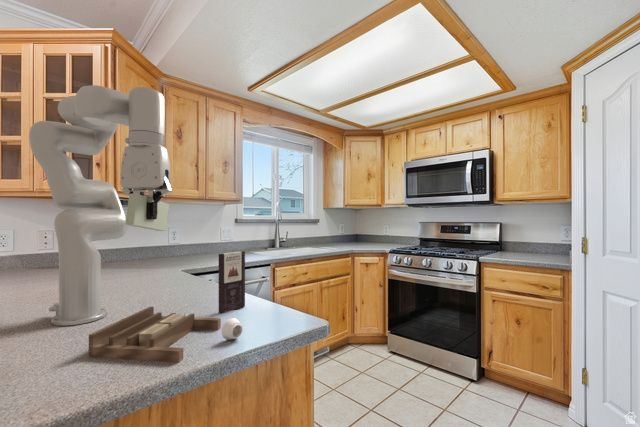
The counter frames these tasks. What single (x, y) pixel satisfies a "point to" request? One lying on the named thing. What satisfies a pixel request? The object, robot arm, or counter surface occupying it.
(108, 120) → the robot arm
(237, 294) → the chocolate bar
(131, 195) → the sage green slab
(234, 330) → the white jar
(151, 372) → the counter surface
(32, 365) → the counter surface
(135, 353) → the rack
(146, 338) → the offcut
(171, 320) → the offcut
